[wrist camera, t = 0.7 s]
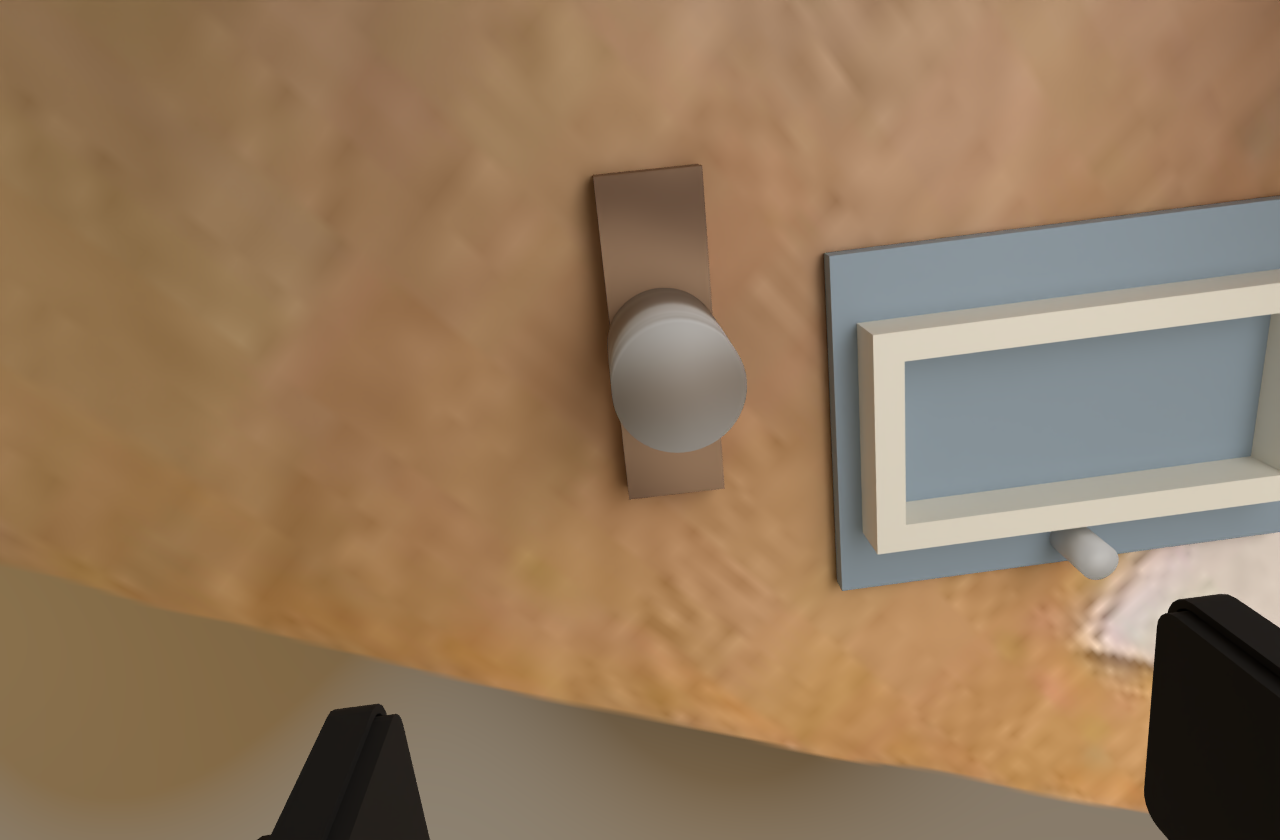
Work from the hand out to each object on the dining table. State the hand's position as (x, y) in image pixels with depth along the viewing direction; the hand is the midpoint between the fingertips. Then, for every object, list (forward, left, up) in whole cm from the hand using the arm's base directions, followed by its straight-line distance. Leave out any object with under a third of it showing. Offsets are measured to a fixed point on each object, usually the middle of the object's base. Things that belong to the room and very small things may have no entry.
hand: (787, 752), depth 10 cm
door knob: (+1, 0, -25) cm, 25 cm away
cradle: (+6, +17, -25) cm, 31 cm away
